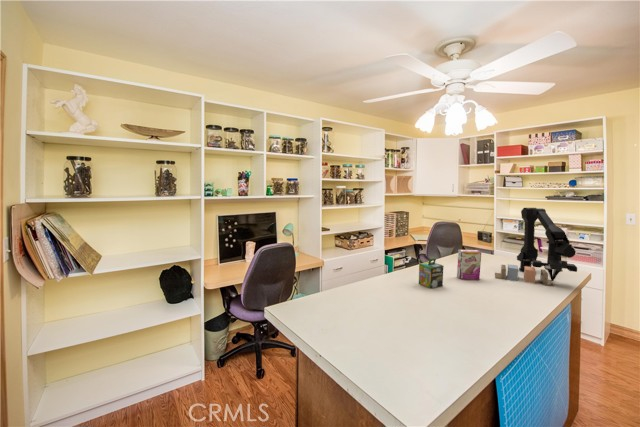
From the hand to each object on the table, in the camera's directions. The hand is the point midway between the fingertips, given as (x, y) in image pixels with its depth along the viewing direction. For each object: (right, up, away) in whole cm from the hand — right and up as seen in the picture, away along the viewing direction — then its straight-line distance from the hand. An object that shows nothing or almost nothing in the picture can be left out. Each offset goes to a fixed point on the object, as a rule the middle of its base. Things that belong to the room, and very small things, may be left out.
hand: (552, 280), depth 158 cm
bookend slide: (-2, -1, +1) cm, 3 cm away
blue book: (-16, -1, +9) cm, 18 cm away
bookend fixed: (-21, 0, +12) cm, 24 cm away
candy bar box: (-41, -1, +9) cm, 42 cm away
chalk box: (-67, -2, -1) cm, 67 cm away
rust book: (-9, -1, +5) cm, 10 cm away
